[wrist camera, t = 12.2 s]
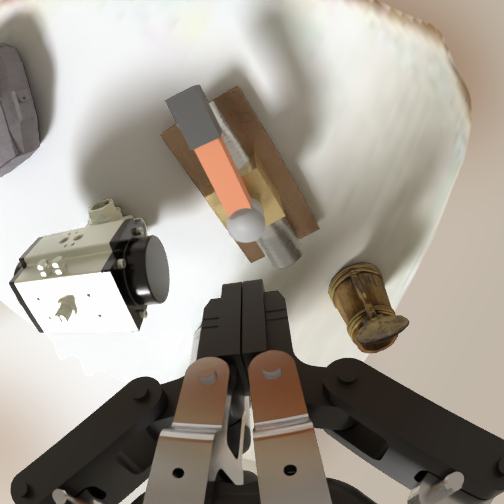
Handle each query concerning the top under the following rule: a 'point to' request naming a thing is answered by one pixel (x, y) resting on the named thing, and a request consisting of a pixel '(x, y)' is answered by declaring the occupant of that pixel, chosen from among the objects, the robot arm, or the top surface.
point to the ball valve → (93, 275)
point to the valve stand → (252, 180)
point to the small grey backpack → (15, 112)
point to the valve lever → (217, 163)
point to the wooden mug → (366, 307)
